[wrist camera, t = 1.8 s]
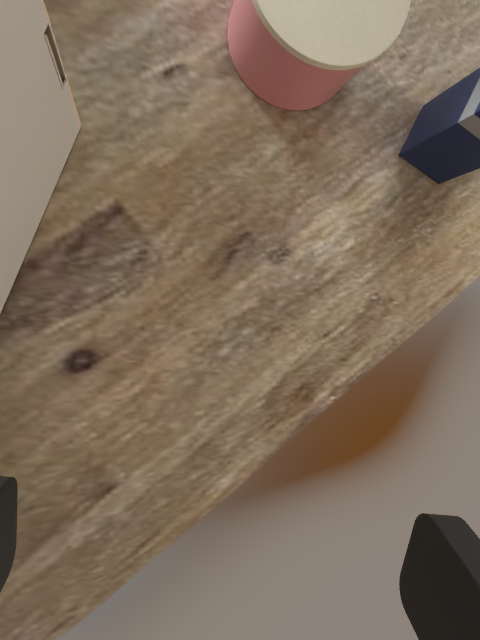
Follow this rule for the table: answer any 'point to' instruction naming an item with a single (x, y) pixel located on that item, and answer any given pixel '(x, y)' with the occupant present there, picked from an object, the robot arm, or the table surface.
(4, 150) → the packaging
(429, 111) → the carton
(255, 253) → the table surface
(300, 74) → the yogurt tub
